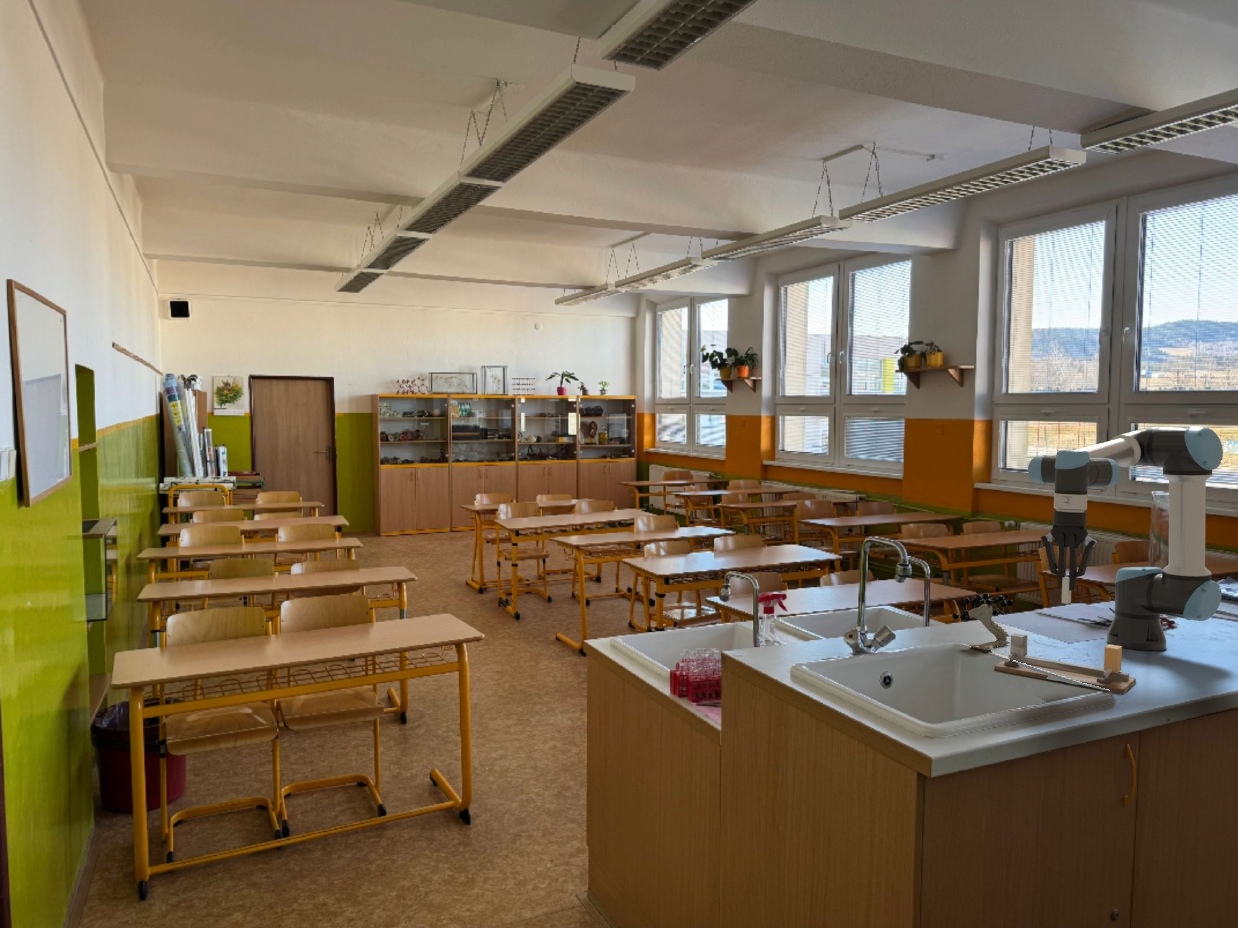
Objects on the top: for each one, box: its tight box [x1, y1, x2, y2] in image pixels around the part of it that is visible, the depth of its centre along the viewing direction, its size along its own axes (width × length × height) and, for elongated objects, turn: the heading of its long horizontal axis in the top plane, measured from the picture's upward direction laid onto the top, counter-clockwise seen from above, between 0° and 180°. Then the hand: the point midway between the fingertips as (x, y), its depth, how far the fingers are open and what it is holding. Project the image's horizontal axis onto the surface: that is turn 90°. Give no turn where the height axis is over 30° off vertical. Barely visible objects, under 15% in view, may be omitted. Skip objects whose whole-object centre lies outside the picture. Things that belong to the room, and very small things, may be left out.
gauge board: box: [994, 632, 1137, 695], centre depth 223 cm, size 13×30×8 cm, turn 48°
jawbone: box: [968, 603, 1011, 651], centre depth 254 cm, size 14×8×15 cm
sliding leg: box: [1103, 643, 1123, 678], centre depth 216 cm, size 9×3×7 cm, turn 138°
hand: (1066, 602), depth 222 cm, fingers closed
